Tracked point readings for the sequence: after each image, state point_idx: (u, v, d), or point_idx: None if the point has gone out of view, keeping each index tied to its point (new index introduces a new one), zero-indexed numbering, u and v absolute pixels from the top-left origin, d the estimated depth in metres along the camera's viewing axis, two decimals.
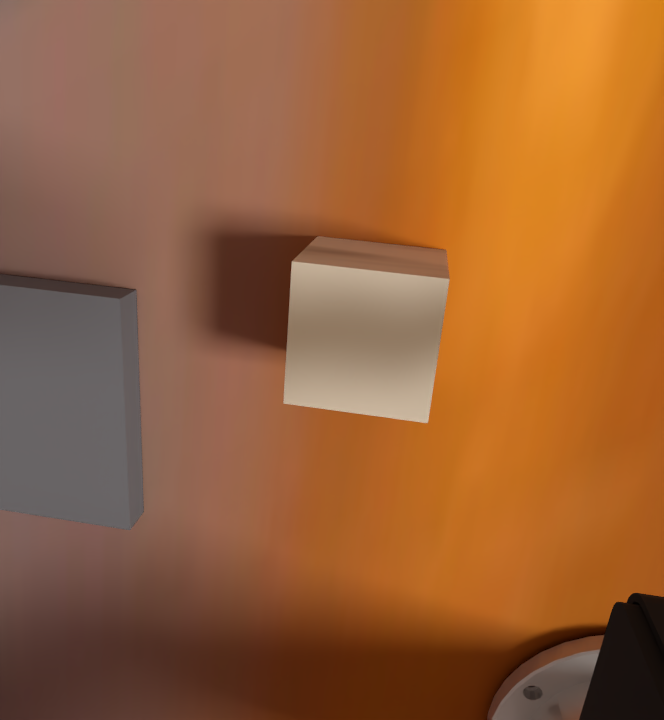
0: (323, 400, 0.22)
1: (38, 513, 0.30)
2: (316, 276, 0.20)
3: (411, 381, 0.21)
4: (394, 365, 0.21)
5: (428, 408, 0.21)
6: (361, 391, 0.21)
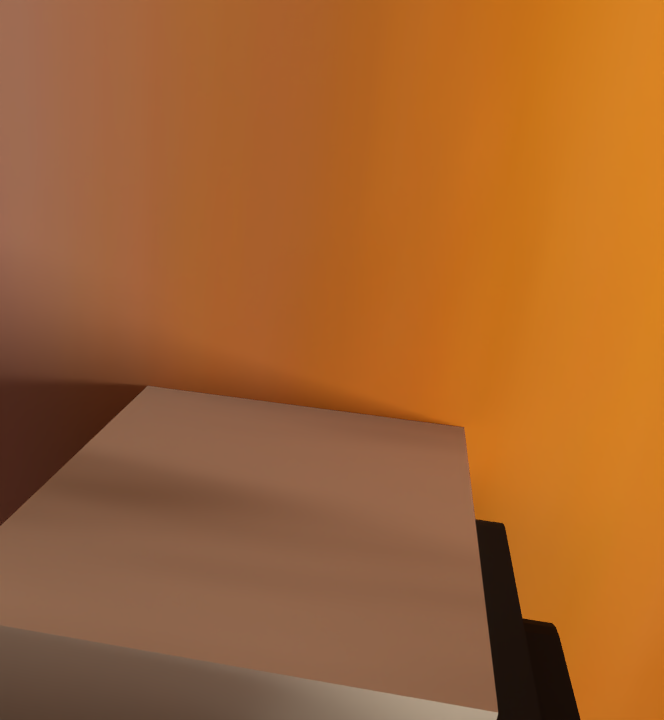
0: None
1: None
2: (7, 660, 0.06)
3: None
4: None
5: None
6: None
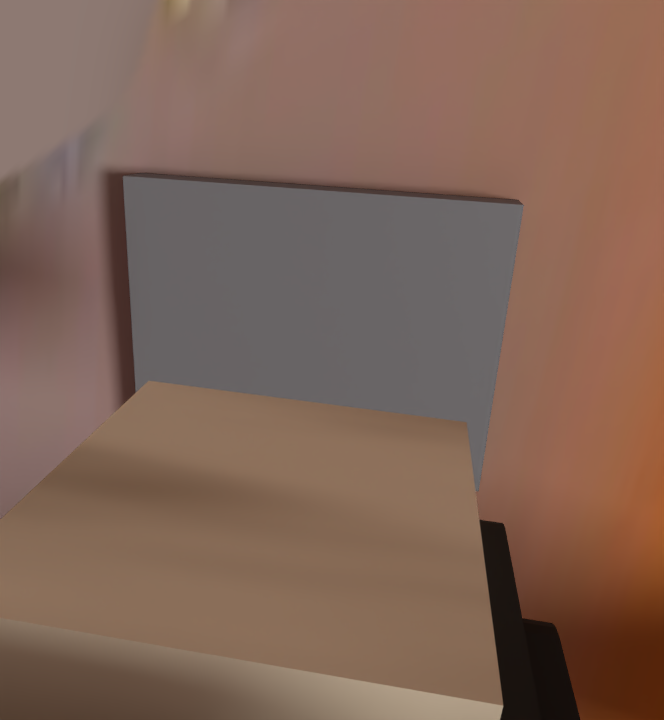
0: None
1: None
2: (7, 653, 0.06)
3: None
4: None
5: None
6: None
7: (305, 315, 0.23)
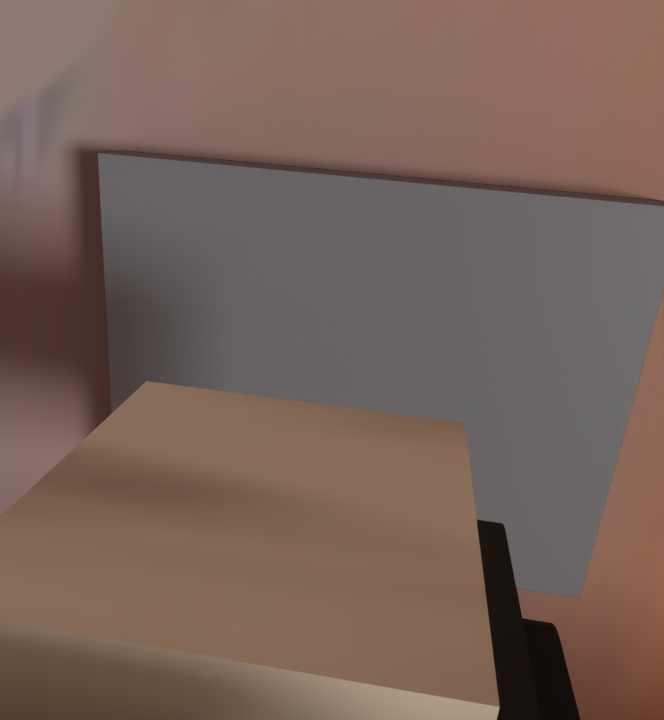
0: None
1: None
2: (3, 655, 0.06)
3: None
4: None
5: None
6: None
7: (352, 355, 0.17)
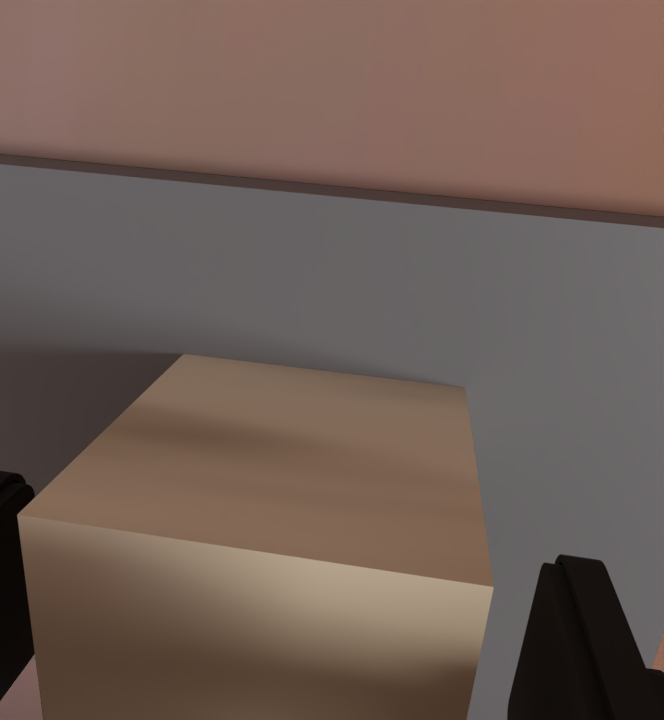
0: None
1: None
2: (93, 557, 0.07)
3: None
4: None
5: None
6: None
7: None
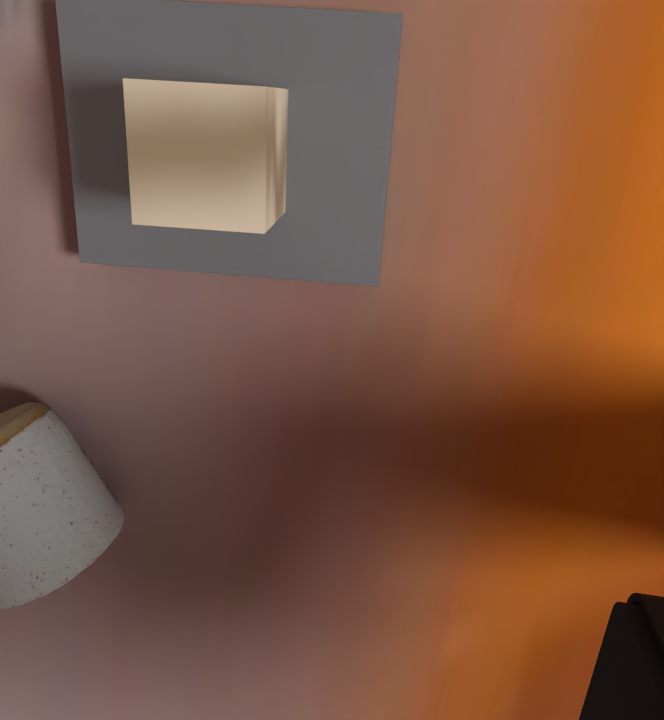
0: (168, 218, 0.24)
1: (282, 275, 0.29)
2: (146, 92, 0.22)
3: (245, 192, 0.23)
4: (228, 177, 0.23)
5: (263, 218, 0.23)
6: (201, 206, 0.23)
7: None
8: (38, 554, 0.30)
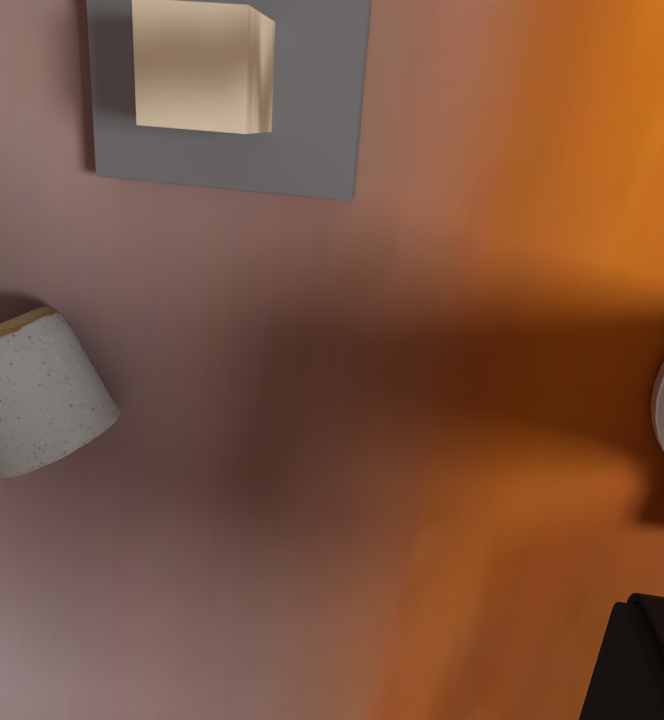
0: (166, 119, 0.28)
1: (268, 189, 0.34)
2: (151, 9, 0.27)
3: (230, 97, 0.27)
4: (216, 84, 0.27)
5: (244, 120, 0.28)
6: (193, 109, 0.28)
7: None
8: (41, 428, 0.34)
